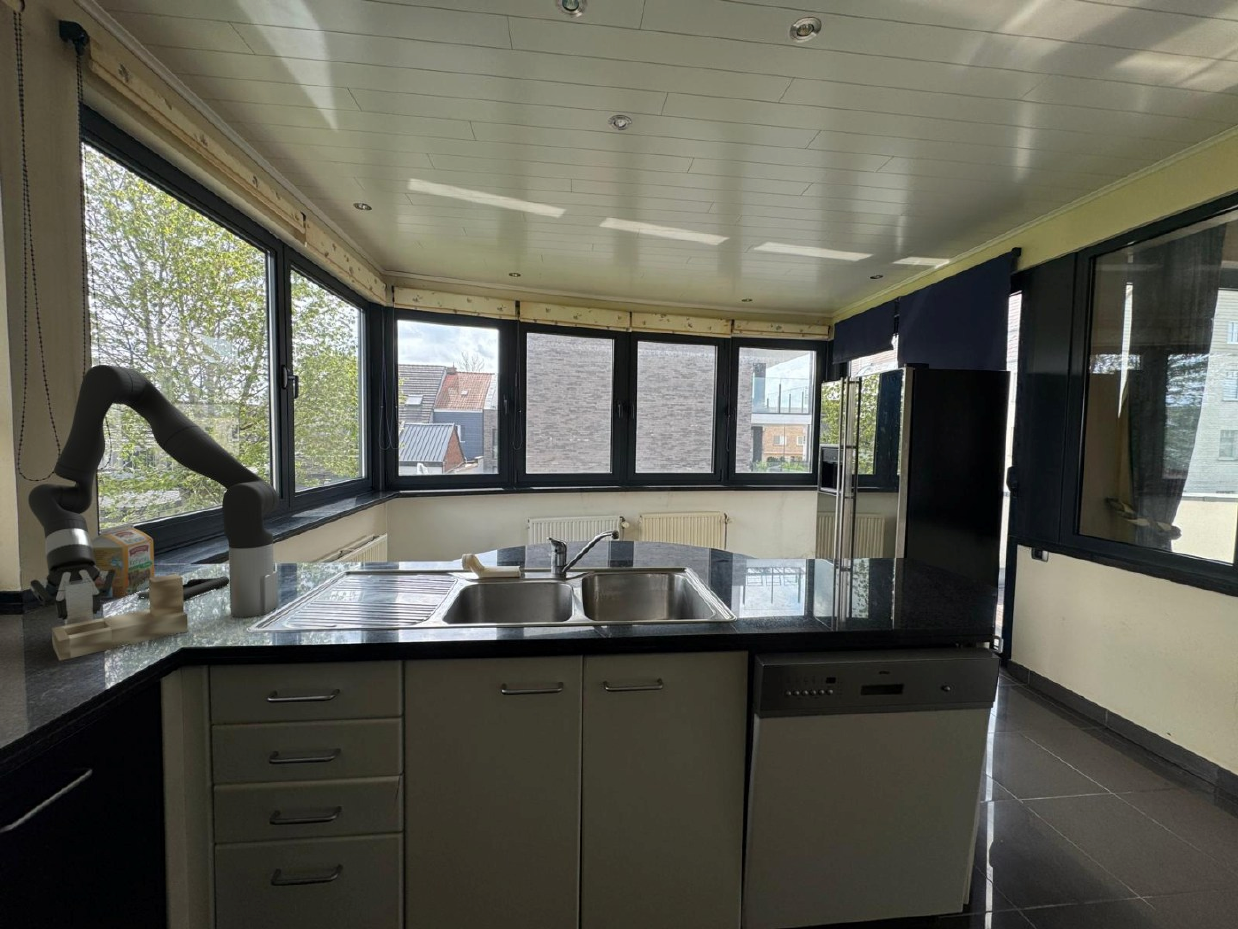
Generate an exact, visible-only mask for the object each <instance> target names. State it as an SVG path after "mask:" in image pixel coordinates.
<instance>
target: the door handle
mask: <svg viewBox="0 0 1238 929" xmlns="http://www.w3.org/2000/svg"><path fill="white" fill-rule="evenodd" d="M227 584H228V585H229V584H230V577H228V576H220V577H215V578H212V577H211V578H193V579H190V580H188V581H187V582H186V583H183V602H184V600H185V601H188V600H190V599H189V598H193V597H195V596H197V595H202V594H204V593H206V592H209V591H211V590H214V589H216V590H218V589H220V588H219V587H221V588H223V587H222V586H224V587H226V586H228V585H227ZM225 585H226V586H225ZM217 588H218V589H217ZM137 596H138V599H142V598H141V597H144V598H149V591H141V592H139V593H137ZM202 596H203V595H202ZM187 599H188V600H187Z"/></svg>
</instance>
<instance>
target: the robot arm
mask: <svg viewBox="0 0 1238 929" xmlns="http://www.w3.org/2000/svg"><path fill="white" fill-rule="evenodd" d="M78 393H79V394H78V398H77V402H76V406H75V410H74V416H73V419H72V425H71V428H70V432H69V435H68V438H67V440H66V443H65V445H64V447H63V448H62V451H61V453H60V455H59V457H58V460H57V462H56V463H55V465H54V470H53V472H54V474H55V476H57V477H59V478H61V479H65V480H68V481H71V482H74V483H75V484H74V486H73V485H63V484H56V483H41V484H39V485H36V486H35V487H34V488H32V490H30V492H29V494H28V501H27V502H28V505H29V508H30V510H31V512H32V513H33V515H34V516H35V517H36V518H37V519H36V520H38V522H39V523H40V525H41V526H42V527H43V530H44V532H43V533H44V539H45V546H44V548H45V549H44V550H45V554H44V555H45V559H46V562H47V563H46V564H47V571H48V575H47V576H46V578H43V579H40V580H38V579H33V580H30V582H29V583H30V584H29V590H30V592H31V593H33V595H34V596H35V598H37V599H38V601H39V602H40V604H41V605H43V606H44V607H50V606H54V607H55V609H56V610H55V611H56V617H57V618H58V619H61V620H62V621H65V620H66V619H67V617H68V612H67V609H66V602H65V601H64V597H65V595H64V587H63V583H64V582H71V581H77V580H84V579H90V581H91V582H92V597H93V615H96V614H98V612H99V611H100V610H101V607H102V604H101V600H100V599H101V598H100V597H103V596H104V597H105V596H108V594H109V592H110V589H111V586H112V583H113V580H114V577H115V572H116V571H115V570H114V569H111V570H109V571H100V569H99V568H97V567H96V563H95V557H94V552H93V547H92V542H91V537H90V535H89V530H88V528H89V527H88V525H87V524H88V523H87V520H86V518H85V517H84V516H83V515H82V514H83V513H85V512H86V511H88V510H89V508H91V505H92V501H93V485H94V479H95V475H96V472H97V470H98V468H99V467H100V464H101V462H102V460H103V457H104V454H105V451H106V438H105V433H104V421H105V418H106V415H107V414H108V412H109V410H110V408H111V407H112V405H114V404H115V405H124V406H127V407H129V408H130V409H131V410H133V411H134V412H136V413H137V414H138V415H139V416H140V417H142V418H143V419H144V420H145V421H146V422H147V423H148V424H149V426H150V428H151V431H152V435H153V438H154V440H155V442H156V444H157V445H158V447H160V448H161V449H162V450H163V452H165V453H166V454H167V455H168V456H169V457H170V458H172V459H173V460H174V461H176V462H177V463H178V464H180V466H181V465H182V466H183V467H184V468H186V469H188V470H190V471H193V472H194V473H196V474H199V475H201V476H203V477H206V478H208V479H210V480H212V481H214V482H216V483H217V484H219V485H221V486H222V487H223V488H225V489H226V490H225V492H224V494H223V498H222V502H221V504H222V508H221V511H222V512H221V513H222V521H223V523H222V524H223V531H224V536H225V538H226V539H227V543H228V569H229V572H228V573H229V574H228V575H229V577H228V578H229V604H230V605H229V606H230V607H229V608H230V616H232V617H236V618H237V617H239V618H245V617H254V616H260V615H267V614H269V613H270V612H271V611H273V610H275V609H276V607H277V608H278V607H279V587H278V586H279V584H278V582H279V580H278V576H279V575H278V571H277V570H275V569H274V568H275V566H274V563H275V562H274V534H273V533H272V531H270V530H267V529H266V528H265V527H264V518H263V517H264V516H267V515H270V514H272V513H273V512H275V511H276V509H277V508H278V506H279V503H280V497H279V493H278V491H277V490H276V489H275V488H274V486H272V484H270V483H269V482H268V481H266V480H265V479H263V478H262V477H261V476H259V475H258V474H256V473H255V472H253V471H251V470H250V469H249V468H248V467H247V466H244V465H243V464H242V463H241V462H239V461H238V459H236V457H234V456H233V455H232V454H231V453H230V452H229V451H228V450H226V449H225V448H224V447H222V445H220V444H219V443H218V442H217V441H216V440H215V439H214V438H213V437H211V435H209V433H208V432H206V431H205V430H204V429H203V428H202V427H200V426H199V425H198V424H197V423H195V422H194V421H193V420H192V419H190V418H189V417H188V416H187V415H185V413H183V412H182V411H181V410H180V409H178V408H177V407H176V406H175V405H174V404H173V403H171V402H170V401H169V399H167V398H166V396H164V394H163V393H162V392H161V391H160V390H159V389H158V388H157V387H156V385H155V384H153V382H152V381H151V380H150V379H148V378H147V376H145V375H144V374H143V373H142V372H140V371H138V370H136V369H132V368H130V367H124V366H116V365H111V364H110V365H109V364H98V365H95V366H92V367H91V368H89V369H88V370H87V371H86V373H85V374H84V376H83V378H82V381H81V384H80V389H79V392H78ZM99 576H100V577H102V580H104V581H105V583H104V585H103V588H102V589H100V590H98V589H97V588H96V586H95V583H94V581H95V580H96V579H97V578H98V577H99ZM47 585H50V586H51V587H53V588H55V589H57V595H56V596H51V594H50V593H49V592H48V590H47ZM274 608H275V609H274ZM100 612H101V611H100Z"/></svg>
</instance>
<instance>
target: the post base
mask: <svg viewBox="0 0 1238 929" xmlns="http://www.w3.org/2000/svg"><path fill="white" fill-rule="evenodd" d="M183 585H184V580H183V576H181V575H179V574H178V573H175V574H167V575H162V576H155V577H154V578H149V589H148V592H149V599H148V600H149V608H148V609H144V610H142V609H141V610H138V611H137V610H136V611H134V612H133V611H132V612H128V613H123V614H117V615H111V616H106V617H103V618H101V617H100V618H96V619H93V620H91V621H85V622H80V623H75V624H70V625H65V624H64V625H60V626H55V627H51V636H52V638H51V639H52V641H51V642H52V648H53V650H54V652H55V654H56V656H57V658H58V661H64V660H68V659H73V658H77V657H80V656H81V657H82V656H86V655H91V654H95V653H98V652H99V653H100V652H103V651H108V650H112V649H117V648H119V647H118V646H121V647H123V646H122V645H126V644H130V645H134V644H138V642H139V643H143V642H147V641H151V640H150V639H152V640H155V639H154V638H156V639H160V638H164V636H165V637H168V636H167V635H169V636H172V635H171V634H174V635H177V634H176V633H178V634H181V633H180V632H182V633H185V632H186V633H187V632H188V631H189V628H188V627H189V625H188V624H189V622H188V613H187V612H185V611H184V607H185V605H184V601H183ZM142 641H143V642H142ZM126 646H127V645H126ZM116 647H117V648H116Z"/></svg>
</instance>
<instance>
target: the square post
mask: <svg viewBox="0 0 1238 929" xmlns="http://www.w3.org/2000/svg"><path fill="white" fill-rule="evenodd" d="M63 587H64V595H65V597H64V601H65V602H66V609H67V612H68V617H67V619H66V620H64V626H65V625H70V624H75V623H80V622H85V621H91V620H94V614H93V597H92V582H91V581H90V579H84V580H77V581H71V582H64V583H63Z"/></svg>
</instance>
